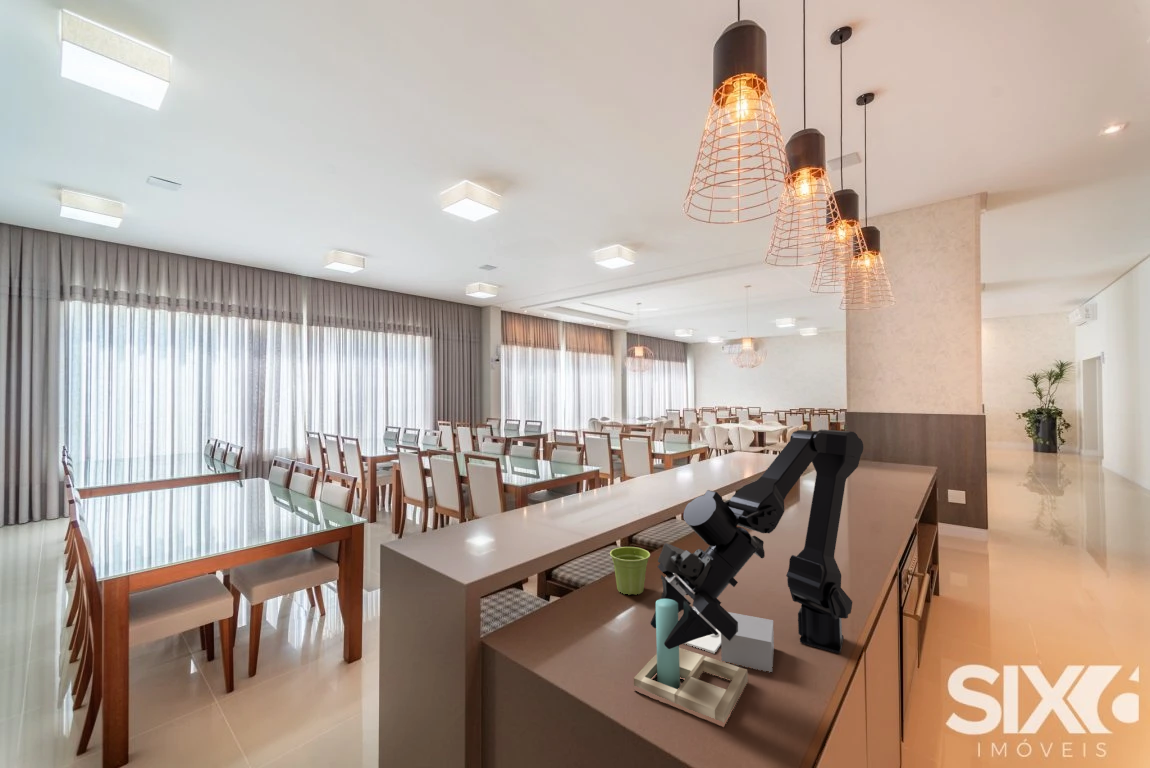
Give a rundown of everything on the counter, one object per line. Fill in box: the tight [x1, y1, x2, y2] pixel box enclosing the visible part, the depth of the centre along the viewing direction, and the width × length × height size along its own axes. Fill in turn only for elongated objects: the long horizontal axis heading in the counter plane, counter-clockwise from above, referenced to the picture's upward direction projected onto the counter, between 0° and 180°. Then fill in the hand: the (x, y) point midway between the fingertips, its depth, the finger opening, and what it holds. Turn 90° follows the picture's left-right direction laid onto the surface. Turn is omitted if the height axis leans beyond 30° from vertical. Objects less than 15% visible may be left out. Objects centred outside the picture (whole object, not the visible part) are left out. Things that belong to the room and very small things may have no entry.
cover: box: [720, 611, 775, 673], centre depth 81 cm, size 8×8×5 cm
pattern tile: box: [683, 629, 721, 654], centre depth 87 cm, size 8×8×1 cm
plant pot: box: [609, 546, 651, 596], centre depth 108 cm, size 9×9×9 cm
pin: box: [655, 598, 681, 689], centre depth 72 cm, size 4×4×13 cm
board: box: [633, 647, 749, 723], centre depth 72 cm, size 14×12×2 cm
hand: (659, 636), depth 72 cm, fingers open, 6 cm apart
